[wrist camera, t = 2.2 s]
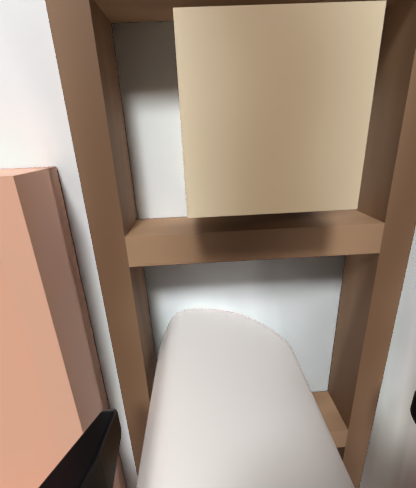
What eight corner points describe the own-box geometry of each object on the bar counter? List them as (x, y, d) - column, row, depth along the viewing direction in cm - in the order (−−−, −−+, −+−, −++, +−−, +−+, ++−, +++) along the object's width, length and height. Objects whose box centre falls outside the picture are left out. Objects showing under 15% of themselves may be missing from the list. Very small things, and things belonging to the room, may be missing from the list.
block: (307, 55, 9) (386, 0, 5) (299, 183, 11) (357, 209, 7) (181, 60, 9) (173, 7, 5) (189, 188, 10) (187, 218, 7)
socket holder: (417, -30, 8) (480, -78, 7) (330, 494, 17) (347, 539, 15) (69, -19, 8) (32, -65, 6) (157, 507, 17) (152, 555, 15)
